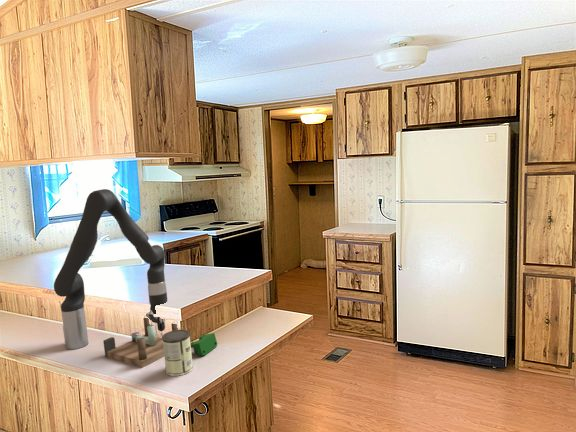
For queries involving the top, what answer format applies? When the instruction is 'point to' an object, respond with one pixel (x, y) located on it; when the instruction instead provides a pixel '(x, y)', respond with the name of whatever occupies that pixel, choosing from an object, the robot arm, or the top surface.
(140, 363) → the stool seat
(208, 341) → the clamp
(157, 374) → the top surface
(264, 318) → the top surface
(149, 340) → the swing leg
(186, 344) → the coffee can
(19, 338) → the top surface
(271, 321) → the top surface
